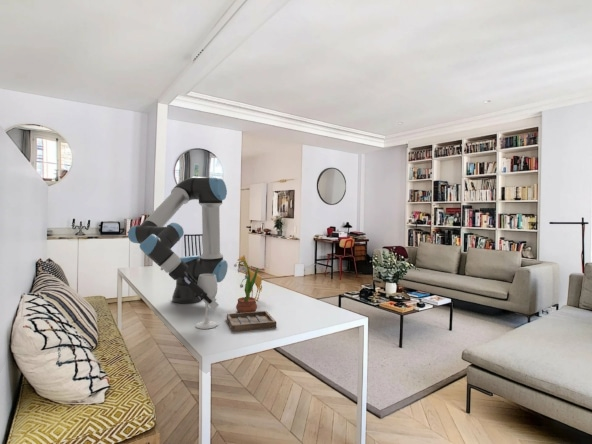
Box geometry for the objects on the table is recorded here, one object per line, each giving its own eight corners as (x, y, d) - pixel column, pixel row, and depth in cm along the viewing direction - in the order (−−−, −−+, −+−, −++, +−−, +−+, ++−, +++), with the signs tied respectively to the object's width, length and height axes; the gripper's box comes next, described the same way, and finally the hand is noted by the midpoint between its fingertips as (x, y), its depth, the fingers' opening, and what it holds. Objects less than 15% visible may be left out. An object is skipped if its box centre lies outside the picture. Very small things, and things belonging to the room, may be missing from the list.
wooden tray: (226, 319, 147) (226, 313, 147) (266, 316, 153) (266, 310, 153) (232, 331, 132) (232, 325, 132) (276, 327, 138) (276, 321, 138)
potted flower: (235, 315, 153) (236, 261, 152) (229, 309, 162) (230, 258, 161) (260, 312, 158) (261, 260, 158) (252, 307, 167) (254, 257, 167)
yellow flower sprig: (239, 305, 171) (240, 255, 170) (234, 303, 174) (235, 255, 173) (264, 299, 182) (265, 253, 182) (259, 298, 186) (260, 253, 185)
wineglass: (211, 330, 134) (212, 277, 133) (191, 328, 135) (192, 276, 135) (220, 323, 142) (221, 273, 142) (201, 321, 144) (202, 272, 143)
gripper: (168, 269, 143) (206, 304, 149) (166, 278, 123) (211, 318, 129) (181, 256, 144) (218, 292, 150) (182, 263, 125) (225, 304, 131)
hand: (215, 304), depth 140 cm, fingers closed on wineglass, 8 cm apart
